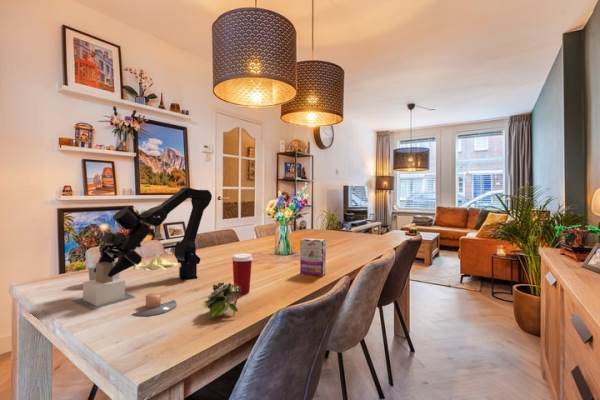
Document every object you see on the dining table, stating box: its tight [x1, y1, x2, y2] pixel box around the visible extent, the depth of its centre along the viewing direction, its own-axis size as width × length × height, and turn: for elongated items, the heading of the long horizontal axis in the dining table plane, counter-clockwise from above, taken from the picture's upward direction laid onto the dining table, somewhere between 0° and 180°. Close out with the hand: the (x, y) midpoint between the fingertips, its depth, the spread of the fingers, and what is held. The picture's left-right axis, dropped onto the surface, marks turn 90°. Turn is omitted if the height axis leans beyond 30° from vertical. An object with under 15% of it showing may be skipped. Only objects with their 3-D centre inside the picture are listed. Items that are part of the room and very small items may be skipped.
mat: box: [71, 292, 136, 311], centre depth 103 cm, size 14×14×1 cm
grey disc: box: [131, 292, 178, 317], centre depth 98 cm, size 14×14×4 cm
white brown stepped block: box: [82, 262, 126, 306], centre depth 102 cm, size 9×9×12 cm
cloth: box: [133, 254, 179, 272], centre depth 149 cm, size 22×19×6 cm
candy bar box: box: [299, 237, 327, 277], centre depth 141 cm, size 11×5×16 cm, turn 69°
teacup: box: [87, 260, 121, 281], centre depth 122 cm, size 14×11×8 cm
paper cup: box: [231, 253, 253, 296], centre depth 113 cm, size 8×8×14 cm
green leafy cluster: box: [204, 282, 242, 320], centre depth 94 cm, size 11×11×12 cm
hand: (101, 274), depth 102 cm, fingers open, 9 cm apart
